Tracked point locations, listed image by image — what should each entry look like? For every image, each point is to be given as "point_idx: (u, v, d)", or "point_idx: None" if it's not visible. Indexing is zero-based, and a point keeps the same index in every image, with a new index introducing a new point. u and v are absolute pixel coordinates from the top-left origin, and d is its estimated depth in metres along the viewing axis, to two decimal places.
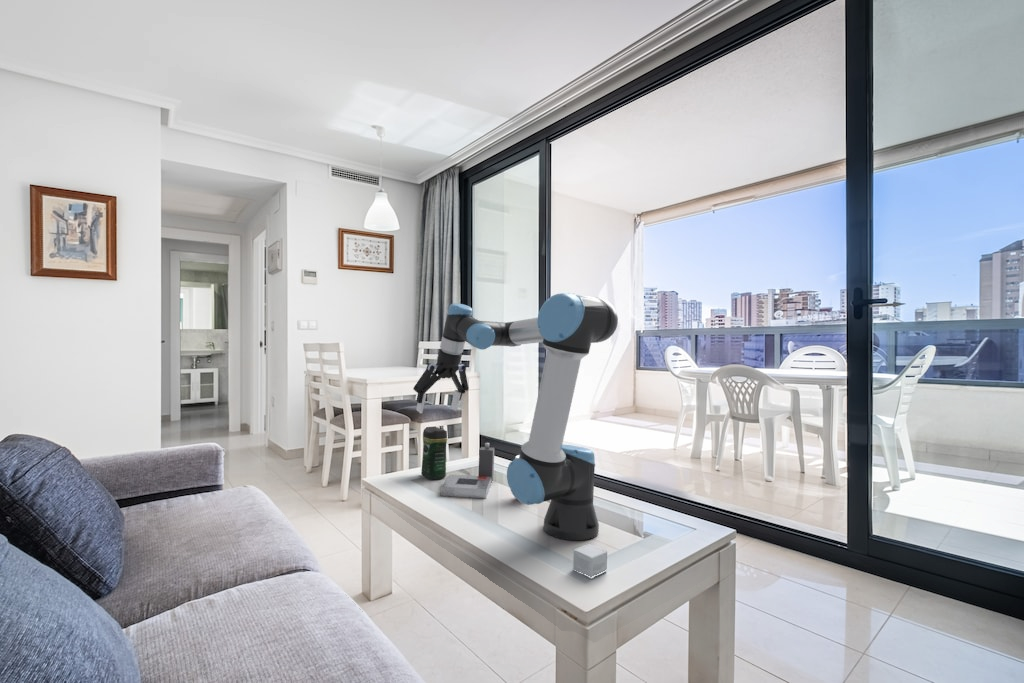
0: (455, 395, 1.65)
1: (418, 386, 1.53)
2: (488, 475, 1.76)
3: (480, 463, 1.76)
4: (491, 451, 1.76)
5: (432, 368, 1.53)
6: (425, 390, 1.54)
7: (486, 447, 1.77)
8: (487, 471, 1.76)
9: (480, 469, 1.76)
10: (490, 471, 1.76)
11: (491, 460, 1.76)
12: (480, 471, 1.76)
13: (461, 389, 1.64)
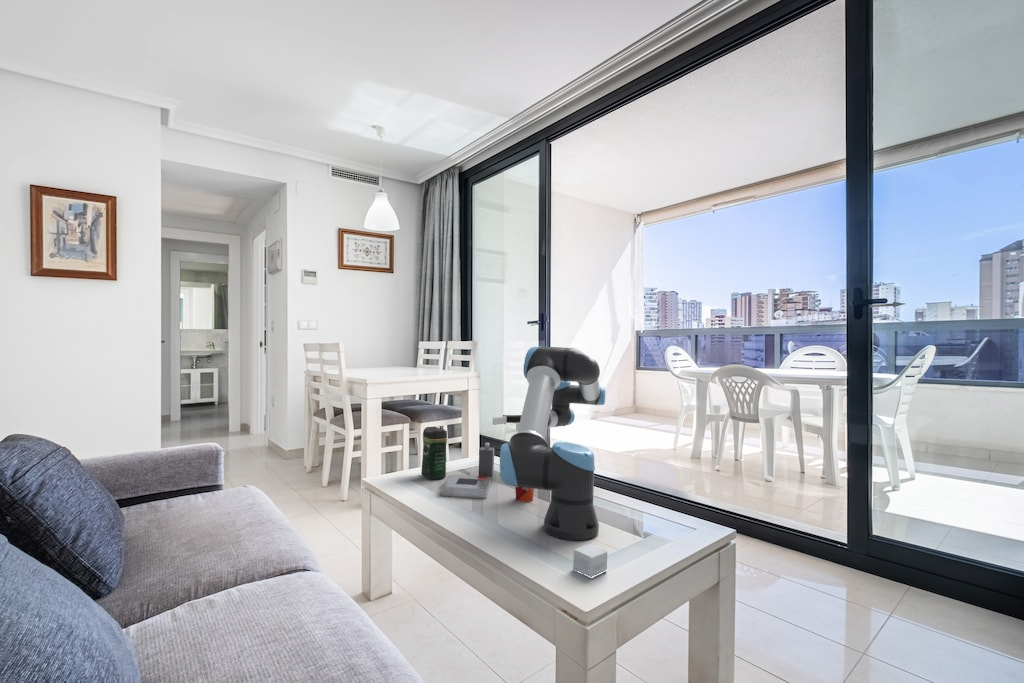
0: None
1: None
2: (488, 475, 1.76)
3: (480, 463, 1.76)
4: (491, 451, 1.76)
5: None
6: (508, 416, 1.94)
7: (486, 447, 1.77)
8: (487, 471, 1.76)
9: (480, 469, 1.76)
10: (490, 471, 1.76)
11: (491, 460, 1.76)
12: (480, 471, 1.76)
13: None
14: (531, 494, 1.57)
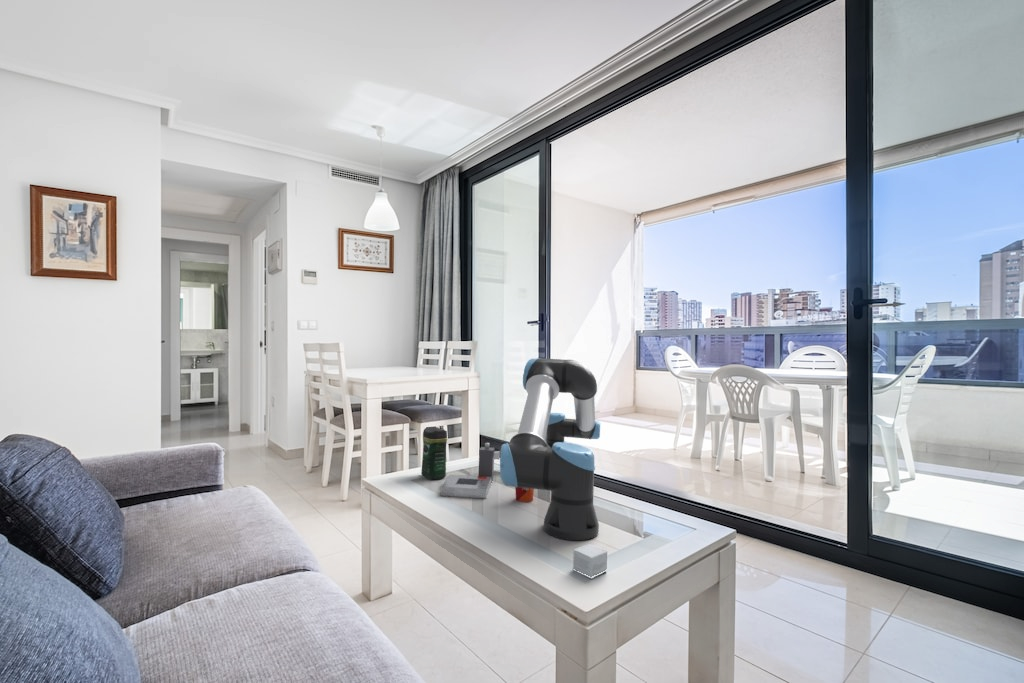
0: None
1: None
2: (488, 475, 1.76)
3: (480, 463, 1.76)
4: (491, 451, 1.76)
5: None
6: None
7: (486, 447, 1.77)
8: (487, 471, 1.76)
9: (480, 469, 1.76)
10: (490, 471, 1.76)
11: (491, 460, 1.76)
12: (480, 471, 1.76)
13: None
14: (531, 494, 1.57)
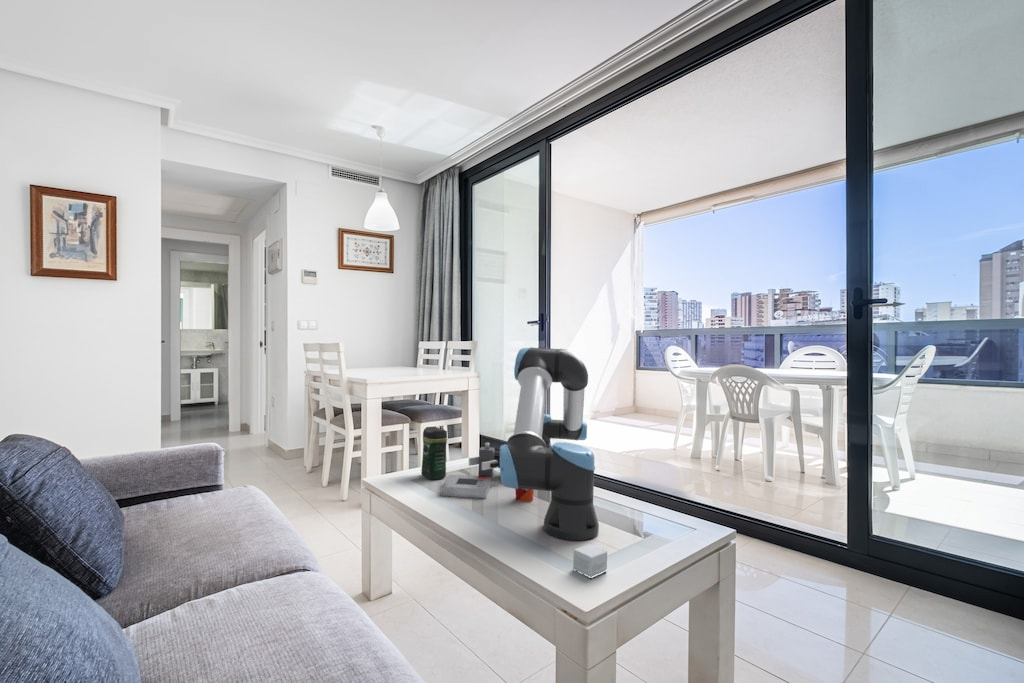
0: None
1: None
2: (488, 475, 1.76)
3: (480, 463, 1.76)
4: (491, 451, 1.76)
5: (499, 451, 1.90)
6: None
7: (486, 447, 1.77)
8: (487, 471, 1.76)
9: (480, 469, 1.76)
10: (490, 471, 1.76)
11: (491, 460, 1.76)
12: (480, 471, 1.76)
13: None
14: (531, 494, 1.57)
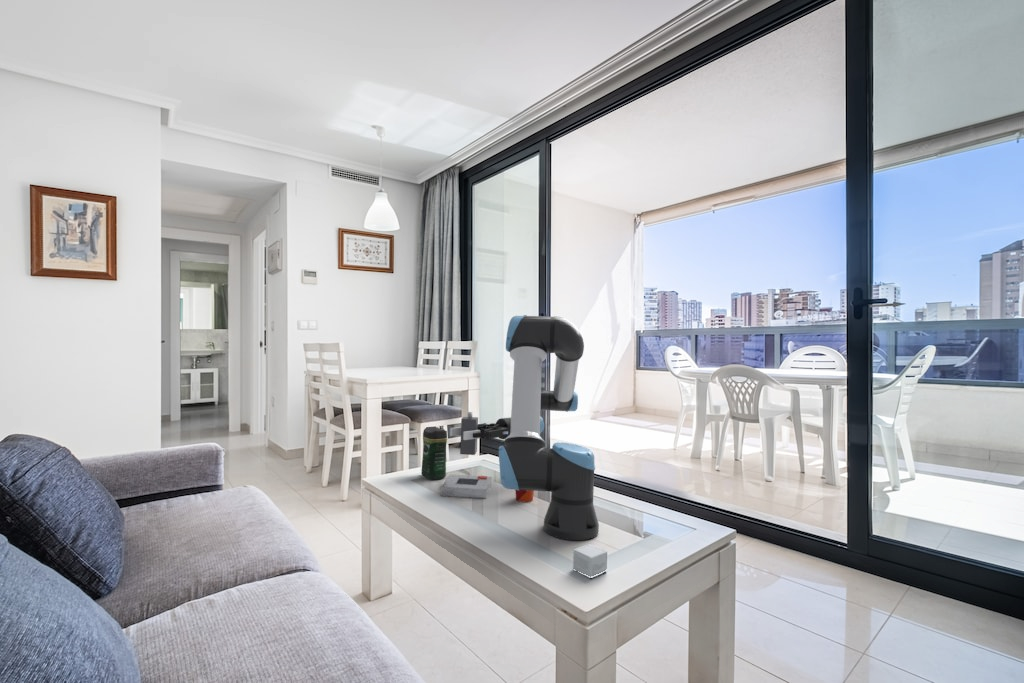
0: None
1: None
2: (471, 446, 1.64)
3: (462, 433, 1.64)
4: (474, 420, 1.64)
5: (484, 423, 1.79)
6: None
7: (469, 416, 1.66)
8: (470, 442, 1.64)
9: (462, 439, 1.64)
10: (473, 442, 1.64)
11: None
12: (462, 442, 1.64)
13: None
14: (531, 494, 1.57)
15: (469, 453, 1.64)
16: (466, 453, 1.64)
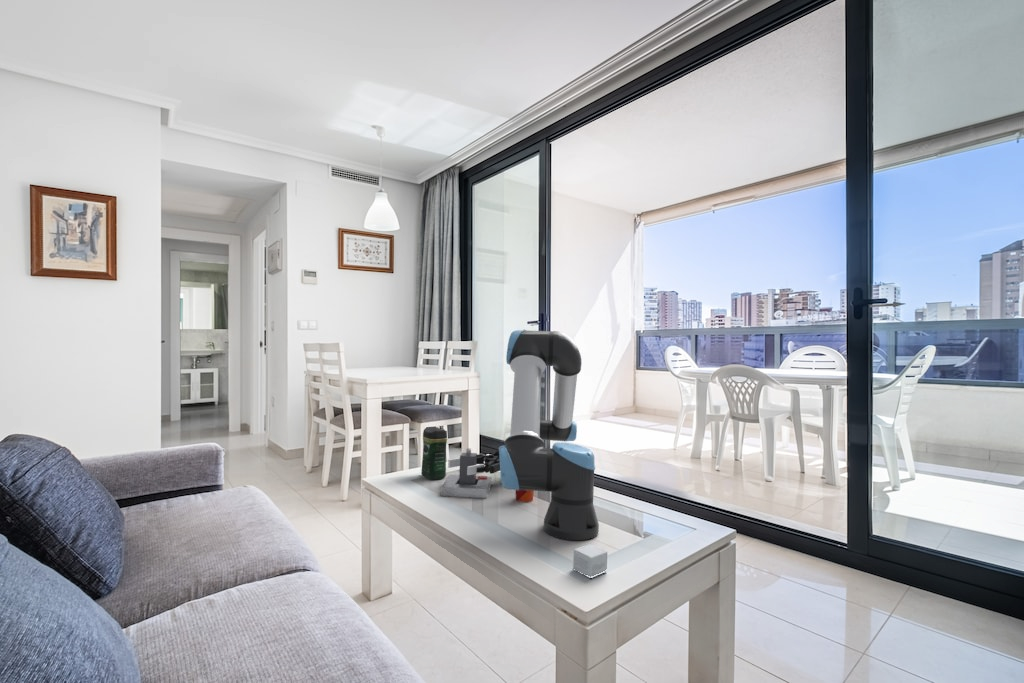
0: None
1: None
2: (469, 483, 1.64)
3: (461, 470, 1.64)
4: (473, 457, 1.64)
5: (484, 454, 1.79)
6: None
7: (467, 453, 1.66)
8: (468, 478, 1.64)
9: (461, 476, 1.64)
10: (472, 478, 1.64)
11: None
12: (461, 478, 1.64)
13: None
14: (531, 494, 1.57)
15: None
16: None
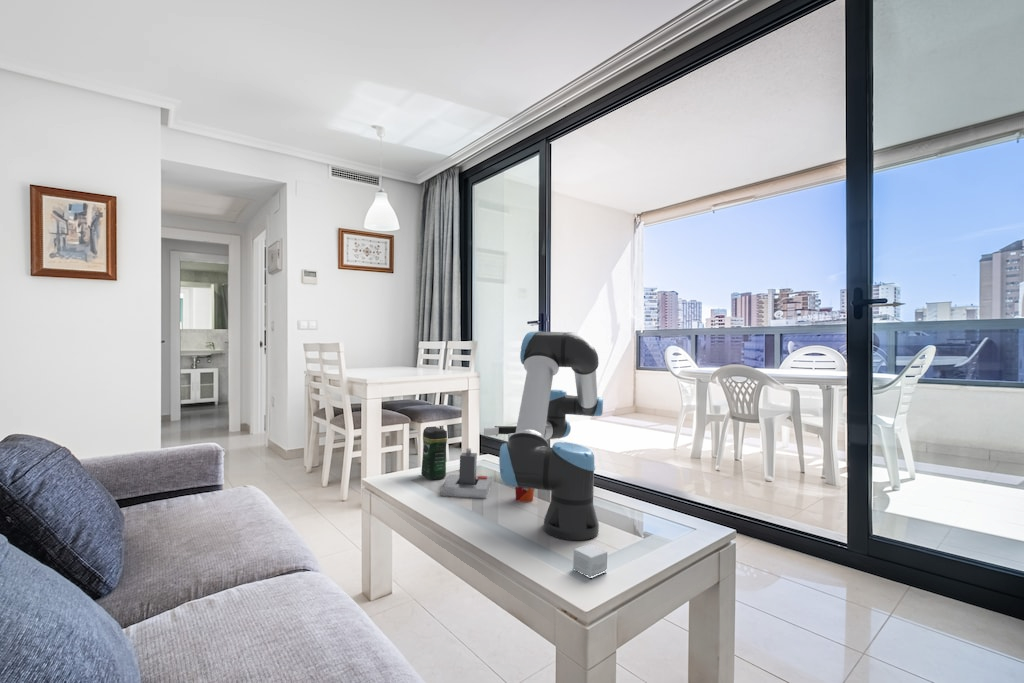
0: None
1: None
2: (469, 483, 1.64)
3: (461, 470, 1.64)
4: (473, 457, 1.64)
5: None
6: (500, 427, 1.84)
7: (467, 453, 1.66)
8: (468, 478, 1.64)
9: (461, 476, 1.64)
10: (472, 478, 1.64)
11: (472, 467, 1.64)
12: (461, 478, 1.64)
13: None
14: (531, 494, 1.57)
15: None
16: None
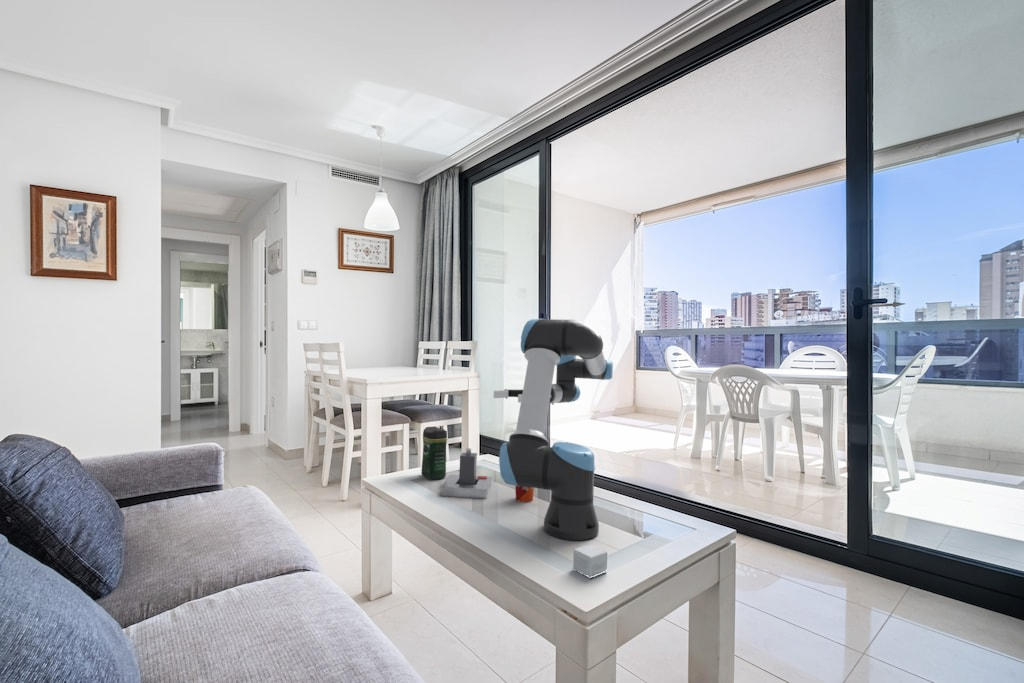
0: None
1: None
2: (469, 483, 1.64)
3: (461, 470, 1.64)
4: (473, 457, 1.64)
5: None
6: (510, 390, 1.84)
7: (467, 453, 1.66)
8: (468, 478, 1.64)
9: (461, 476, 1.64)
10: (472, 478, 1.64)
11: (472, 467, 1.64)
12: (461, 478, 1.64)
13: None
14: (531, 494, 1.57)
15: None
16: None
